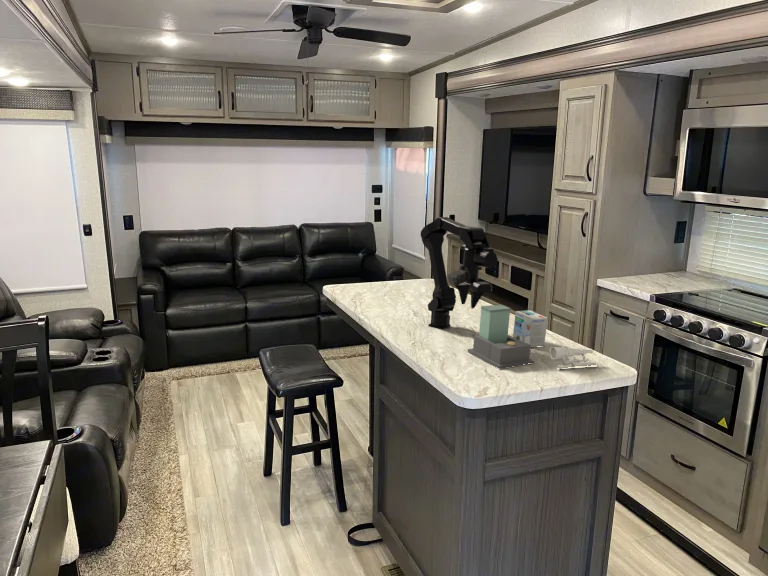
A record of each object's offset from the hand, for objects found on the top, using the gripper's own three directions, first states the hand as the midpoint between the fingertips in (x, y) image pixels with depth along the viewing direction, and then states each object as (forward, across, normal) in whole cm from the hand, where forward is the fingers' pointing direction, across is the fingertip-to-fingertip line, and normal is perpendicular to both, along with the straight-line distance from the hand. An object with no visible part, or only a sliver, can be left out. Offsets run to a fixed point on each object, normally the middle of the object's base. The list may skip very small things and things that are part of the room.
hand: (467, 306), depth 204 cm
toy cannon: (+12, +37, +17) cm, 42 cm away
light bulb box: (+12, +12, +19) cm, 26 cm away
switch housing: (+12, +21, -1) cm, 25 cm away
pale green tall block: (+11, +17, -1) cm, 20 cm away
